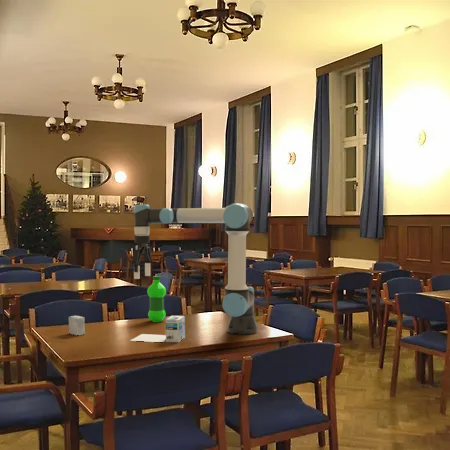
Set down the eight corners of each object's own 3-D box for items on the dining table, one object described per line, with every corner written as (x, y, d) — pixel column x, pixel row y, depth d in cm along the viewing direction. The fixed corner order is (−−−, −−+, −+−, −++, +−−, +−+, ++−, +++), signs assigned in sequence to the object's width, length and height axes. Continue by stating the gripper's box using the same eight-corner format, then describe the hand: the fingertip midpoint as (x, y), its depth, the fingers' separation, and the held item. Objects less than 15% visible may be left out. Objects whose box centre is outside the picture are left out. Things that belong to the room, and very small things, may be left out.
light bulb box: (179, 342, 267) (179, 319, 267) (165, 342, 268) (165, 319, 268) (185, 337, 277) (185, 315, 277) (171, 337, 279) (171, 315, 278)
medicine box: (85, 334, 285) (85, 317, 285) (77, 336, 282) (77, 318, 281) (76, 332, 290) (76, 315, 290) (68, 333, 287) (68, 316, 287)
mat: (172, 336, 281) (172, 335, 281) (162, 342, 266) (162, 342, 266) (141, 334, 285) (141, 333, 285) (129, 341, 270) (129, 340, 270)
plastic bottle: (165, 323, 314) (165, 277, 314) (146, 322, 314) (145, 277, 314) (167, 319, 324) (167, 275, 324) (148, 319, 325) (148, 275, 324)
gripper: (145, 234, 302) (145, 274, 302) (124, 236, 278) (124, 279, 278) (158, 234, 300) (158, 274, 300) (138, 236, 276) (139, 280, 276)
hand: (142, 277), depth 289 cm, fingers open, 13 cm apart
